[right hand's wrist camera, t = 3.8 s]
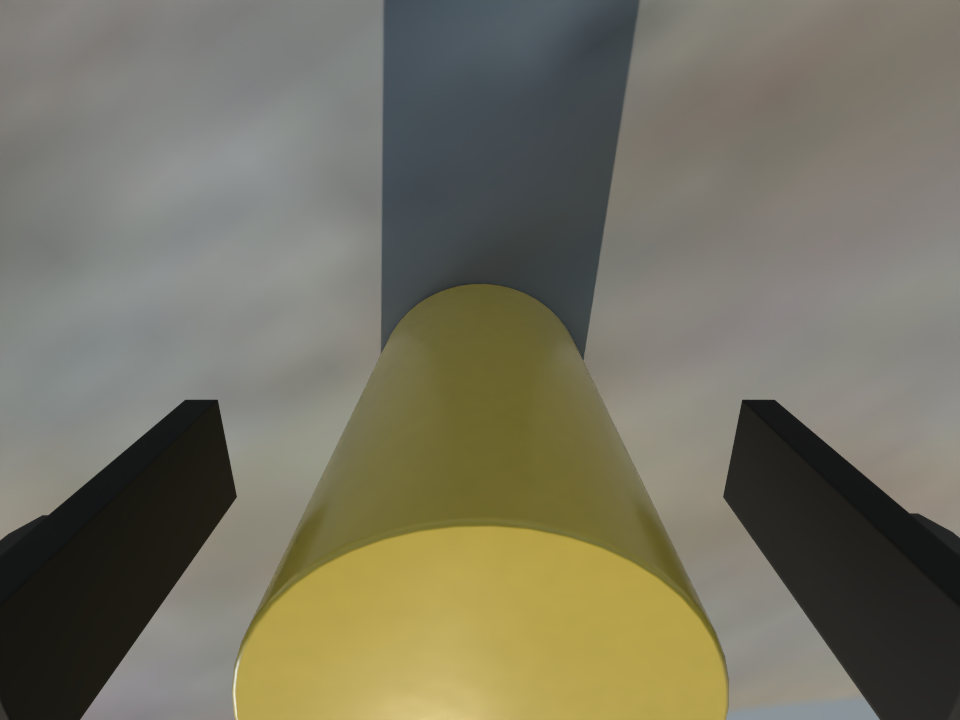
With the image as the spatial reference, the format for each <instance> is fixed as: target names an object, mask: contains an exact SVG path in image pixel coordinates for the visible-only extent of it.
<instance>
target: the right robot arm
mask: <svg viewBox="0 0 960 720" xmlns="http://www.w3.org/2000/svg"><path fill="white" fill-rule="evenodd" d="M236 497H237V495H236V490H235V485H234V480H233V475H232V470H231V465H230V460H229V455H228V450H227V445H226V440H225V435H224V429H223V424H222V419H221V414H220V409H219V404H218V400H185V401H184V402H182V403H181V404H180V405H179V406H178V407H176V408H175V409H174V410H173V411H172V412H170V413H169V414H168V415H167V416H166V417H165V418H163V419H162V420H161V421H160V422H159V423H157V424H156V425H155V426H154V427H153V428H151V429H150V430H149V431H148V432H147V433H146V434H144V435H143V436H142V437H141V438H140V439H138V440H137V441H136V442H135V443H134V444H132V445H131V446H130V447H129V448H128V449H127V450H125V451H124V452H123V453H122V454H121V455H119V456H118V457H117V458H116V459H115V460H114V461H112V462H111V463H110V464H109V465H108V466H106V467H105V468H104V469H103V470H102V471H100V472H99V473H98V474H97V475H96V476H95V477H93V478H92V479H91V480H90V481H89V482H87V483H86V484H85V485H84V486H83V487H81V488H80V489H79V490H78V491H77V492H76V493H74V494H73V495H72V496H71V497H70V498H68V499H67V500H66V501H65V502H64V503H62V504H61V505H60V506H59V507H58V508H57V509H55V510H54V511H53V512H52V513H51V514H49V515H42V516H41V517H39V518H37V519H35V520H33V521H31V522H30V523H28V524H26V525H24V526H22V527H20V528H19V529H17V530H15V531H13V532H11V533H9V534H8V535H7V536H5V537H4V538H3V539H2V540H0V720H80V719H81V718H82V716H83V715H84V713H85V712H86V710H87V709H88V708H89V706H90V705H91V703H92V702H93V701H94V699H95V698H96V696H97V695H98V693H99V692H100V691H101V689H102V688H103V686H104V685H105V684H106V682H107V681H108V679H109V678H110V676H111V675H112V674H113V672H114V671H115V669H116V668H117V666H118V665H119V664H120V662H121V661H122V659H123V658H124V657H125V655H126V654H127V652H128V651H129V649H130V648H131V647H132V645H133V644H134V642H135V641H136V639H137V638H138V637H139V635H140V634H141V632H142V631H143V630H144V628H145V627H146V625H147V624H148V622H149V621H150V620H151V618H152V617H153V615H154V614H155V612H156V611H157V610H158V608H159V607H160V605H161V604H162V603H163V601H164V600H165V598H166V597H167V595H168V594H169V593H170V591H171V590H172V588H173V587H174V586H175V584H176V583H177V581H178V580H179V578H180V577H181V576H182V574H183V573H184V571H185V570H186V568H187V567H188V566H189V564H190V563H191V561H192V560H193V559H194V557H195V556H196V554H197V553H198V551H199V550H200V549H201V547H202V546H203V544H204V543H205V541H206V540H207V539H208V537H209V536H210V534H211V533H212V532H213V530H214V529H215V527H216V526H217V524H218V523H219V522H220V520H221V519H222V517H223V516H224V514H225V513H226V512H227V510H228V509H229V507H230V506H231V505H232V503H233V502H234V500H235V499H236ZM723 497H724V499H725V500H726V502H727V503H728V505H729V506H730V507H731V509H732V510H733V512H734V513H735V514H736V516H737V517H738V519H739V520H740V522H741V523H742V524H743V526H744V527H745V529H746V530H747V532H748V533H749V534H750V536H751V537H752V539H753V540H754V541H755V543H756V544H757V546H758V547H759V549H760V550H761V551H762V553H763V554H764V556H765V557H766V558H767V560H768V561H769V563H770V564H771V566H772V567H773V568H774V570H775V571H776V573H777V574H778V576H779V577H780V578H781V580H782V581H783V583H784V584H785V585H786V587H787V588H788V590H789V591H790V593H791V594H792V595H793V597H794V598H795V600H796V601H797V603H798V604H799V605H800V607H801V608H802V610H803V611H804V612H805V614H806V615H807V617H808V618H809V620H810V621H811V622H812V624H813V625H814V627H815V628H816V630H817V631H818V632H819V634H820V635H821V637H822V638H823V639H824V641H825V642H826V644H827V645H828V647H829V648H830V649H831V651H832V652H833V654H834V655H835V656H836V658H837V659H838V661H839V662H840V664H841V665H842V666H843V668H844V669H845V671H846V672H847V674H848V675H849V676H850V678H851V679H852V681H853V682H854V683H855V685H856V686H857V688H858V689H859V691H860V692H861V693H862V695H863V696H864V698H865V699H866V701H867V702H868V703H869V705H870V706H871V708H872V709H873V710H874V712H875V713H876V715H877V716H878V718H879V719H880V720H960V538H959V537H958V536H957V535H955V534H954V533H953V532H951V531H949V530H948V529H946V528H944V527H942V526H940V525H938V524H936V523H935V522H933V521H931V520H929V519H927V518H925V517H924V516H922V515H920V514H909V513H908V512H907V511H906V510H905V509H903V508H902V507H901V506H900V505H899V504H898V503H896V502H895V501H894V500H893V499H892V498H890V497H889V496H888V495H887V494H886V493H884V492H883V491H882V490H881V489H880V488H879V487H877V486H876V485H875V484H874V483H873V482H871V481H870V480H869V479H868V478H867V477H865V476H864V475H863V474H862V473H861V472H860V471H858V470H857V469H856V468H855V467H854V466H852V465H851V464H850V463H849V462H848V461H847V460H845V459H844V458H843V457H842V456H841V455H839V454H838V453H837V452H836V451H835V450H833V449H832V448H831V447H830V446H829V445H828V444H826V443H825V442H824V441H823V440H822V439H820V438H819V437H818V436H817V435H816V434H814V433H813V432H812V431H811V430H810V429H809V428H807V427H806V426H805V425H804V424H803V423H801V422H800V421H799V420H798V419H797V418H795V417H794V416H793V415H792V414H791V413H790V412H788V411H787V410H786V409H785V408H784V407H782V406H781V405H780V404H779V403H778V402H777V401H775V400H742V404H741V409H740V414H739V419H738V425H737V430H736V435H735V440H734V445H733V450H732V455H731V460H730V465H729V470H728V475H727V480H726V485H725V490H724V496H723Z"/></svg>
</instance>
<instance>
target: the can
mask: <svg viewBox="0 0 960 720" xmlns="http://www.w3.org/2000/svg"><path fill="white" fill-rule="evenodd" d="M232 696H233V707H234V716H235V720H726V716H727V712H728V705H729V678H728V672H727V666H726V660H725V656H724V653H723V650H722V648H721V645H720V642H719V640H718V637H717V634H716V632H715V630H714V628H713V626H712V624H711V622H710V620H709V618H708V616H707V614H706V612H705V609H704V607H703V605H702V603H701V601H700V599H699V597H698V595H697V593H696V591H695V589H694V587H693V585H692V583H691V581H690V579H689V577H688V575H687V573H686V571H685V568H684V566H683V564H682V562H681V560H680V558H679V556H678V554H677V552H676V550H675V548H674V546H673V544H672V542H671V540H670V538H669V536H668V534H667V532H666V530H665V527H664V525H663V523H662V521H661V519H660V517H659V515H658V513H657V511H656V509H655V507H654V505H653V503H652V501H651V499H650V497H649V495H648V493H647V491H646V489H645V486H644V484H643V482H642V480H641V478H640V476H639V474H638V472H637V470H636V468H635V466H634V464H633V462H632V460H631V458H630V456H629V454H628V452H627V450H626V448H625V445H624V443H623V441H622V439H621V437H620V435H619V433H618V431H617V429H616V427H615V425H614V423H613V421H612V419H611V417H610V415H609V413H608V411H607V409H606V407H605V404H604V402H603V400H602V398H601V396H600V394H599V392H598V390H597V388H596V386H595V384H594V382H593V380H592V378H591V376H590V374H589V372H588V370H587V368H586V365H585V363H584V361H583V359H582V357H581V355H580V353H579V351H578V349H577V347H576V345H575V343H574V341H573V339H572V337H571V335H570V334H569V332H568V330H567V328H566V327H565V326H564V324H563V323H562V322H561V320H560V319H559V318H558V317H557V316H556V315H555V314H554V313H553V312H552V311H551V310H550V309H549V308H548V307H546V306H545V305H544V304H542V303H541V302H540V301H538V300H537V299H535V298H533V297H531V296H529V295H527V294H525V293H523V292H520V291H518V290H515V289H512V288H508V287H504V286H500V285H491V284H469V285H462V286H456V287H453V288H449V289H446V290H443V291H441V292H438V293H436V294H434V295H432V296H430V297H428V298H426V299H425V300H423V301H421V302H420V303H418V304H417V305H416V306H415V307H414V308H412V309H411V310H410V311H409V312H408V313H407V314H406V315H405V316H404V317H403V318H402V319H401V320H400V321H399V323H398V324H397V326H396V327H395V329H394V330H393V331H392V333H391V335H390V337H389V339H388V341H387V343H386V345H385V347H384V349H383V351H382V354H381V356H380V358H379V360H378V362H377V364H376V366H375V368H374V370H373V372H372V374H371V376H370V378H369V380H368V382H367V384H366V386H365V389H364V391H363V393H362V395H361V397H360V399H359V401H358V403H357V405H356V407H355V409H354V411H353V413H352V415H351V417H350V419H349V421H348V423H347V426H346V428H345V430H344V432H343V434H342V436H341V438H340V440H339V442H338V444H337V446H336V448H335V450H334V452H333V454H332V456H331V458H330V461H329V463H328V465H327V467H326V469H325V471H324V473H323V475H322V477H321V479H320V481H319V483H318V485H317V487H316V489H315V491H314V493H313V496H312V498H311V500H310V502H309V504H308V506H307V508H306V510H305V512H304V514H303V516H302V518H301V520H300V522H299V524H298V526H297V528H296V531H295V533H294V535H293V537H292V539H291V541H290V543H289V545H288V547H287V549H286V551H285V553H284V555H283V557H282V559H281V561H280V563H279V566H278V568H277V570H276V572H275V574H274V576H273V578H272V580H271V582H270V584H269V586H268V588H267V590H266V592H265V594H264V596H263V598H262V601H261V603H260V605H259V607H258V609H257V611H256V613H255V615H254V617H253V619H252V621H251V623H250V625H249V627H248V629H247V631H246V633H245V636H244V638H243V640H242V642H241V645H240V649H239V652H238V655H237V658H236V662H235V666H234V676H233V685H232Z"/></svg>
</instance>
